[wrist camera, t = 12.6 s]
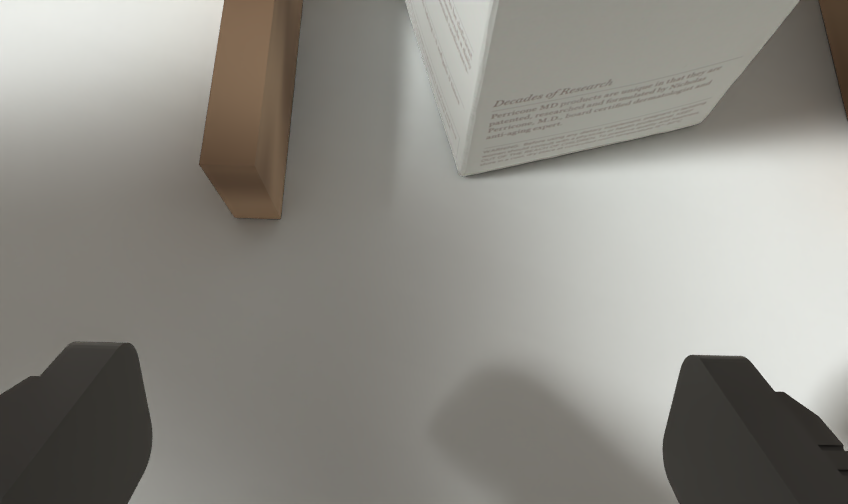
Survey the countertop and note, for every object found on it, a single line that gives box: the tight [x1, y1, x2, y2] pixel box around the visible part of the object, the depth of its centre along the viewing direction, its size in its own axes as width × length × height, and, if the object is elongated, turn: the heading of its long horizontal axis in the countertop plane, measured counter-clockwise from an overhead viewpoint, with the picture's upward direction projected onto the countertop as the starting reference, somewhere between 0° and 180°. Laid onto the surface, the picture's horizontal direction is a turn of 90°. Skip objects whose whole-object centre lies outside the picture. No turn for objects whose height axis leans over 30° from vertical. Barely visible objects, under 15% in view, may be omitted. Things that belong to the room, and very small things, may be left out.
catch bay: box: [199, 0, 848, 219], centre depth 17 cm, size 12×18×3 cm
